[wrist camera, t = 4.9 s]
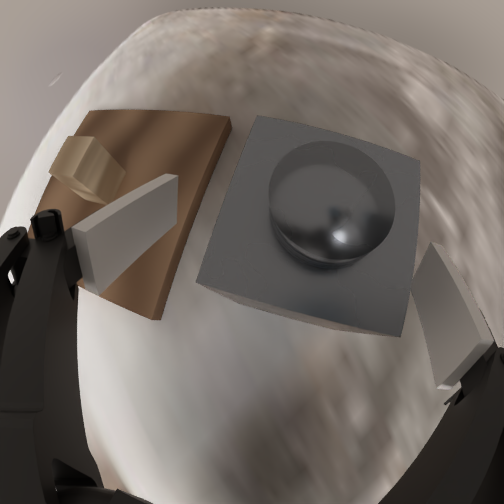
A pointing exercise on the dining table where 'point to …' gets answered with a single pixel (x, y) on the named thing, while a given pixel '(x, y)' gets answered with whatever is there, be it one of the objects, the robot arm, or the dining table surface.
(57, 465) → the robot arm
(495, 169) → the dining table surface
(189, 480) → the dining table surface
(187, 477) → the dining table surface
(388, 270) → the socket
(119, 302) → the post base
